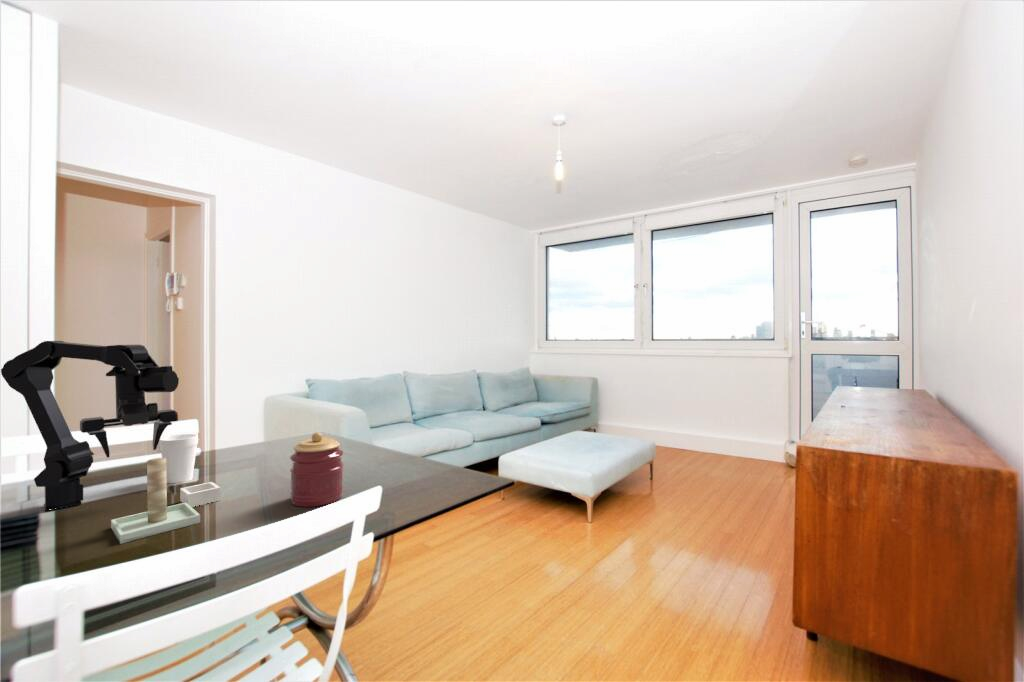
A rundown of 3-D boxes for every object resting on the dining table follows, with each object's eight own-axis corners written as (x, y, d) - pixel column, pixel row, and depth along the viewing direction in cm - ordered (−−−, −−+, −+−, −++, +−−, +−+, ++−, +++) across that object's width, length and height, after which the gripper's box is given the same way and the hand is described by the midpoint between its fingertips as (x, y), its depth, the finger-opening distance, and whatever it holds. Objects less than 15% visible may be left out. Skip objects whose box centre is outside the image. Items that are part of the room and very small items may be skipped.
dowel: (145, 524, 101) (144, 462, 101) (150, 518, 104) (149, 459, 104) (164, 521, 102) (164, 460, 102) (168, 515, 105) (168, 457, 105)
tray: (120, 543, 93) (120, 535, 93) (111, 527, 100) (111, 519, 100) (200, 522, 103) (200, 514, 103) (186, 509, 111) (186, 502, 111)
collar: (187, 508, 112) (187, 494, 112) (180, 501, 116) (180, 488, 116) (220, 500, 117) (220, 487, 117) (212, 494, 122) (211, 481, 122)
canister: (352, 497, 119) (352, 431, 119) (303, 512, 109) (302, 440, 109) (329, 486, 127) (329, 425, 127) (282, 499, 118) (281, 433, 118)
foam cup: (206, 475, 138) (205, 434, 138) (181, 485, 129) (180, 440, 129) (178, 474, 139) (177, 433, 139) (151, 484, 130) (150, 440, 130)
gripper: (83, 400, 102) (85, 467, 103) (182, 391, 116) (183, 451, 117) (78, 396, 110) (80, 459, 110) (172, 388, 124) (173, 444, 124)
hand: (131, 453), depth 115 cm, fingers open, 9 cm apart
